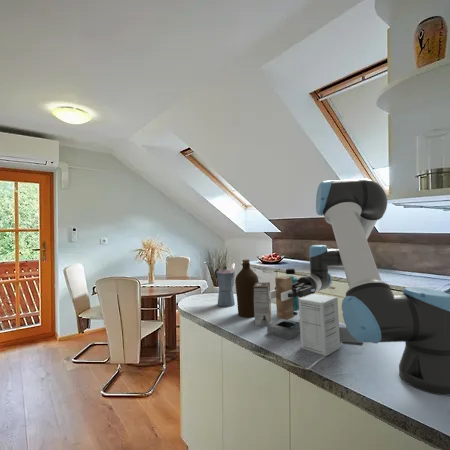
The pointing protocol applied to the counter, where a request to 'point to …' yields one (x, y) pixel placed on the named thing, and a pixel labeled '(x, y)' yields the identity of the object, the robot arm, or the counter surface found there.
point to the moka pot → (225, 286)
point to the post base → (284, 328)
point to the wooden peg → (287, 305)
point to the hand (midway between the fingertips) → (276, 296)
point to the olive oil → (245, 290)
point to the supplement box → (319, 324)
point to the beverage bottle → (294, 280)
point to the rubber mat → (347, 337)
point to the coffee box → (262, 303)
